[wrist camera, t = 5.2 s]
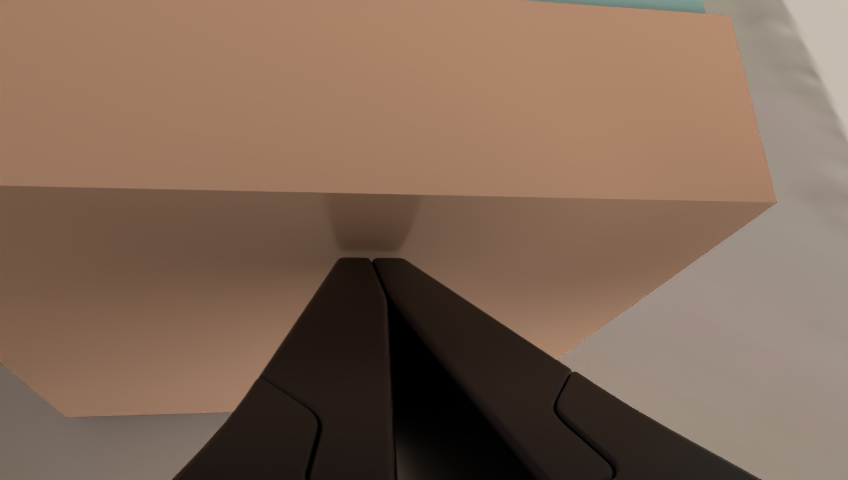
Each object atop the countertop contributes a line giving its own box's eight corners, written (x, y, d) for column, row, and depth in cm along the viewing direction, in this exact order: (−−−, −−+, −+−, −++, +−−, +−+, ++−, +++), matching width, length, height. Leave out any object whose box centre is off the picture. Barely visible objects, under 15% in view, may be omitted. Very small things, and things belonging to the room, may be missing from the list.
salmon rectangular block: (65, 417, 18) (-218, 182, 7) (77, 290, 19) (-152, -80, 8) (494, 403, 20) (776, 202, 9) (483, 289, 21) (723, -11, 10)
